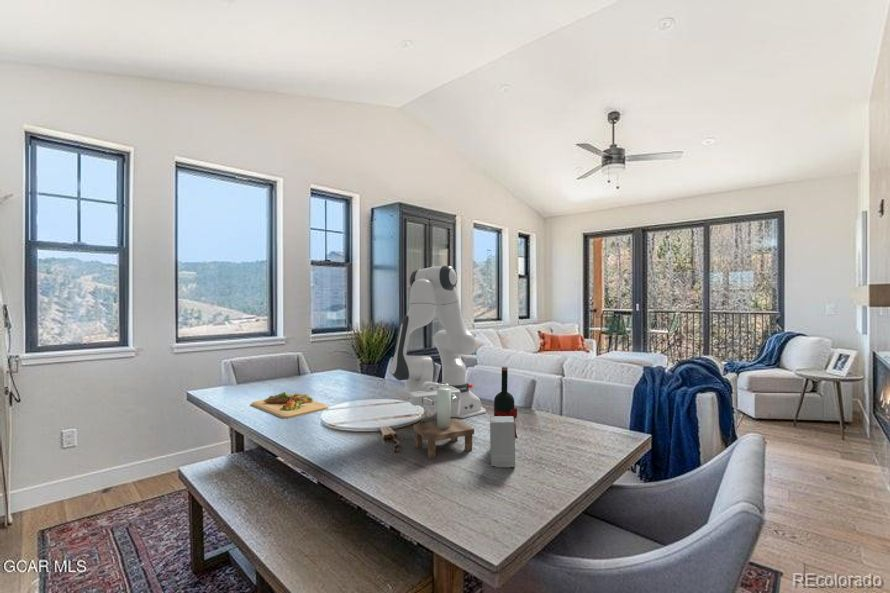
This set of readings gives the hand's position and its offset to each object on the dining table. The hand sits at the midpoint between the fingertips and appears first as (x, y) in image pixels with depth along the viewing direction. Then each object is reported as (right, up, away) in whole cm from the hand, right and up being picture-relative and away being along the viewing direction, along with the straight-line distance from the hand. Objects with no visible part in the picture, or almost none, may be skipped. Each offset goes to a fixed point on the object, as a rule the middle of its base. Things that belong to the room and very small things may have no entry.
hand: (444, 401), depth 164 cm
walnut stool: (0, -17, 0) cm, 17 cm away
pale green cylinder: (0, -9, 0) cm, 9 cm away
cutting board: (-76, -16, +54) cm, 95 cm away
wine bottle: (+23, -18, +1) cm, 29 cm away
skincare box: (+20, -18, -14) cm, 30 cm away
